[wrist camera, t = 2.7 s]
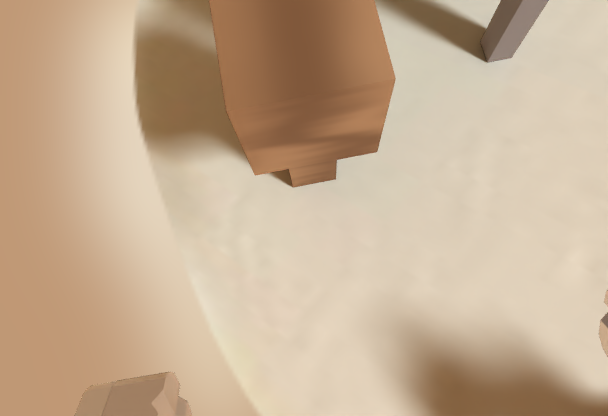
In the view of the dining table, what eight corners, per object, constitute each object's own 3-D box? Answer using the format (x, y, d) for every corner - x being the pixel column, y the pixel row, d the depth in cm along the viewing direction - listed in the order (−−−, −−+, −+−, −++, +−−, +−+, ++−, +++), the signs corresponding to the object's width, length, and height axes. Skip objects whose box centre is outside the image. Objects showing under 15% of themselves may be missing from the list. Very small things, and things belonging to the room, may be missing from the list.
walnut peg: (345, 114, 34) (358, -57, 19) (365, 197, 32) (395, 78, 17) (258, 130, 34) (204, -28, 19) (272, 215, 32) (226, 111, 17)
